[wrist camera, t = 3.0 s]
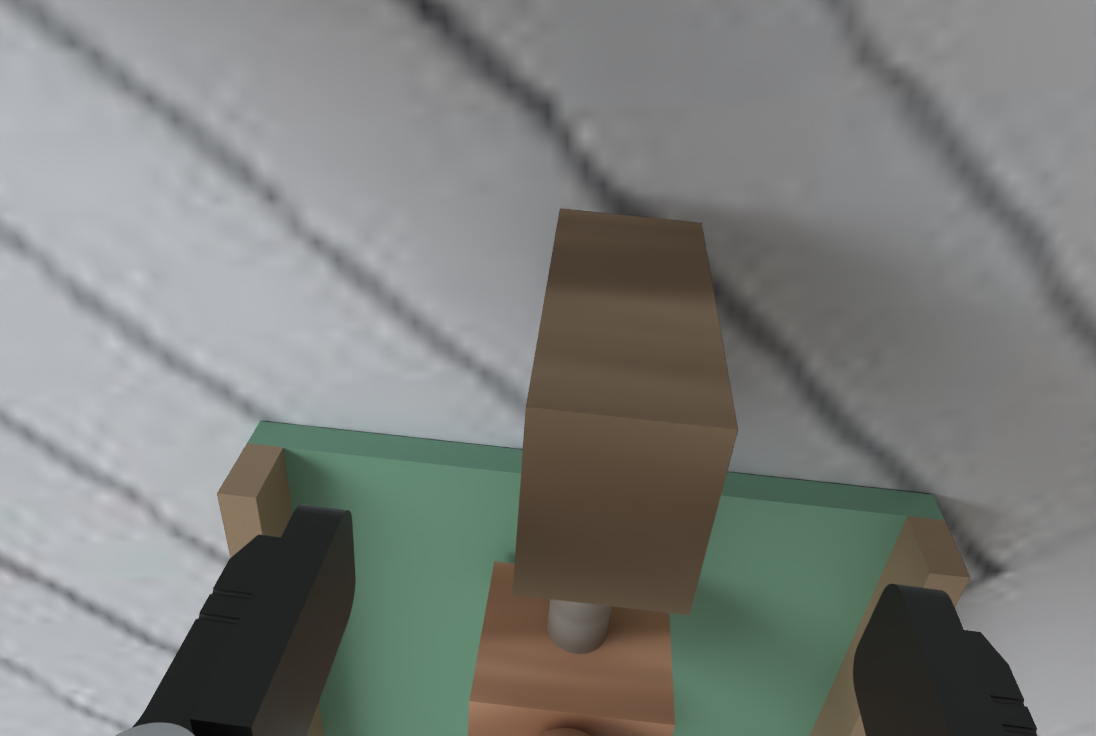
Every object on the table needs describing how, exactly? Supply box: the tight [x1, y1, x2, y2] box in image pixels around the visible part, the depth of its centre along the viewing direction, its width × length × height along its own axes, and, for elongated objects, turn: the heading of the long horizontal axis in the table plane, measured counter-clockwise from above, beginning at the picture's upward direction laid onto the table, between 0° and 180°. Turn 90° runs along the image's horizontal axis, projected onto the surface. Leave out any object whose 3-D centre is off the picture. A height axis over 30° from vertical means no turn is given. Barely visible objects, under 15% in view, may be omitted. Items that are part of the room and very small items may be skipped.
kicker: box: [468, 209, 738, 736], centre depth 18 cm, size 13×5×7 cm, turn 176°
